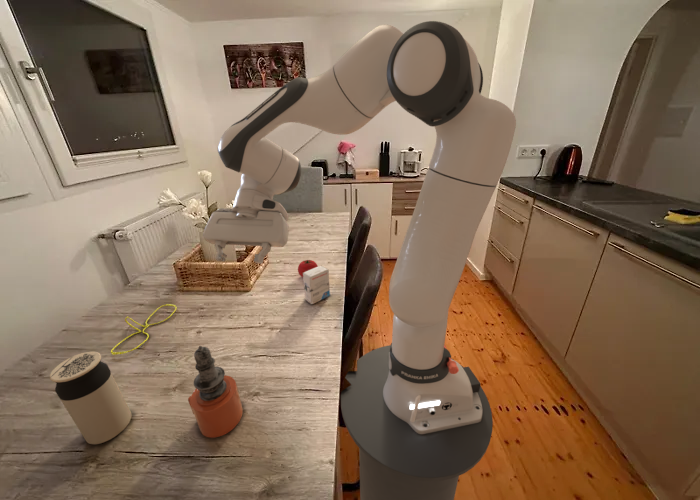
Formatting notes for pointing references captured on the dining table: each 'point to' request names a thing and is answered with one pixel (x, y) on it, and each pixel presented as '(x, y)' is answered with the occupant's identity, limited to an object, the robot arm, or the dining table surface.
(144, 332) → the yellow rope bow
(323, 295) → the ink box
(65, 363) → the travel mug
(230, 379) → the coffee cup
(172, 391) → the dining table surface
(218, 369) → the grey chess piece
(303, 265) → the tomato
